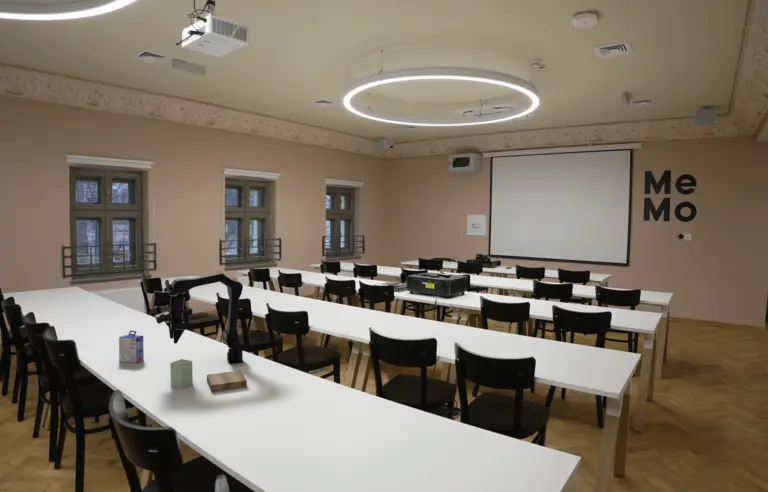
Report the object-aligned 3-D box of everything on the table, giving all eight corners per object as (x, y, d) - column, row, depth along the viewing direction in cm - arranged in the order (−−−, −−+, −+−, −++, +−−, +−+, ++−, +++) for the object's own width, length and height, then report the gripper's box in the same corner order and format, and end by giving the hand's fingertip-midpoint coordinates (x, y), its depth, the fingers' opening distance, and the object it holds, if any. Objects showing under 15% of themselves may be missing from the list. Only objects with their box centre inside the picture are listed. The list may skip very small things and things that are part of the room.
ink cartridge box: (144, 359, 234) (144, 330, 233) (136, 363, 229) (135, 333, 228) (127, 358, 236) (126, 329, 235) (118, 361, 231) (117, 332, 230)
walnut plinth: (240, 376, 212) (240, 370, 212) (246, 387, 200) (246, 380, 200) (206, 381, 206) (206, 374, 206) (211, 392, 194) (211, 385, 193)
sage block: (181, 381, 205) (181, 359, 205) (192, 383, 203) (192, 360, 202) (170, 386, 200) (170, 363, 199) (181, 388, 198) (181, 365, 197)
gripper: (154, 303, 220) (150, 336, 221) (161, 310, 205) (157, 346, 205) (180, 303, 227) (176, 336, 227) (188, 310, 211) (184, 345, 211)
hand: (173, 341), depth 217 cm, fingers open, 9 cm apart
